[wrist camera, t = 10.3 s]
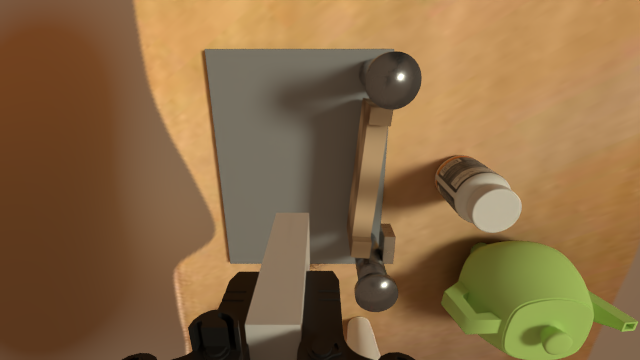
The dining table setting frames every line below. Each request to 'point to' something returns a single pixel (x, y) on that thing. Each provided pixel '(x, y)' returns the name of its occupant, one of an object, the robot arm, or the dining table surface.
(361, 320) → the cup
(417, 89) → the hinge post
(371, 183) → the wooden block
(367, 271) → the post
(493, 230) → the pill bottle
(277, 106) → the base board
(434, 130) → the dining table surface
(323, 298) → the robot arm
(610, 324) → the teapot
